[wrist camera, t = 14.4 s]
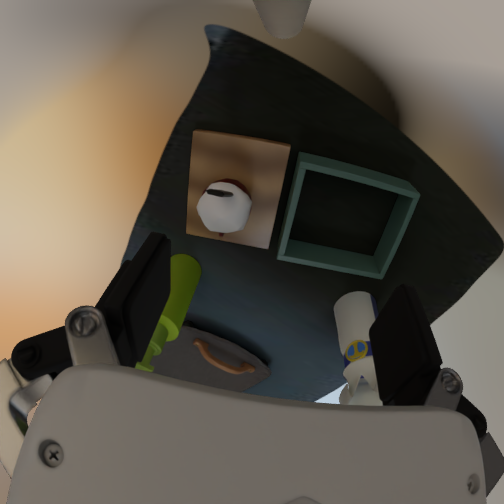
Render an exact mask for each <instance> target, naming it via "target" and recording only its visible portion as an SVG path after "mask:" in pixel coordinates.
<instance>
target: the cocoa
mask: <svg viewBox="0 0 504 504" xmlns="http://www.w3.org/2000/svg"><path fill="white" fill-rule="evenodd" d="M251 204H252V201H251V196H250V194H249V192H248V190H247V188H246V187H245V185H243V184H242V183H240V182H239V181H238V180H234V179H229V178H225V179H221V180H217V181H214V182H213V183H212V184H211V185H209V186H208V187H207V188H206V189H205V190H204V191H203V194H202V196H201V198H200V199H199V202H198V204H197V207H196V208H197V211H198V214H199V216H200V217H201V219H202V221H203V223H204V225H205V226H206V227H207V228H208V229H209V230H210V231H215V232H219V236H221V237H223V235H224V233H230V232H235V231H240V230H243V229H244V227H245V225H246V223H247V221H248V218H249V215H250V213H251V209H252V206H251Z"/></svg>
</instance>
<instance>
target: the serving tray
mask: <svg viewBox="0 0 504 504" xmlns="http://www.w3.org/2000/svg"><path fill="white" fill-rule="evenodd" d="M149 365H151V366H153V367H154V370H153V371H152V373H156V374H160V375H163V376H167V377H171V378H175V379H179V380H184V381H188V382H192V383H197V384H201V385H206V386H210V387H215V388H220V389H225V390H230V391H236V392H242V391H244V390H246V389H248V388H250V387H252V386H254V385H255V384H257V383H259V382H261V381H262V380H264V379H266V378H267V377H269V376H270V375H271V373H272V372H271V370H270V369H269V367H268V366H267V362H266V361H265V360H260V359H259V358H257V357H256V356H255V355H253V354H251V353H250V352H248V351H246V350H245V349H243V348H242V347H240V346H239V345H237V344H235V343H233V342H230V341H228V340H226V339H223V338H220V337H218V336H216V335H213V334H211V333H208V332H205V331H202V330H198V329H197V328H193V323H192V322H191V321H186V322H184V323H183V325H182V326H181V329H180V332H179V334H178V337H177V338H176V339H175V340H172V341H166V342H165V344H164V347H163V350H162V352H161V354H159V355H156V356H155V355H153V357H152V359H151V362H150V364H149Z"/></svg>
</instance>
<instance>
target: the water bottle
mask: <svg viewBox="0 0 504 504" xmlns="http://www.w3.org/2000/svg"><path fill="white" fill-rule="evenodd" d="M334 315H335V319H336V324H337V330H338V337H339V344H340V350H341V354H342V356H343V358H344V364H345V370H344V372H343V377H344V378H345V380H346V381H347V382H348V384H346V386H345V387H344V389H343V390H342V392H341V394H340V397H339V402H340V404H344V405H367V406H383V404H382V401H381V400H380V398H379V392H378V385H377V379H376V373H375V367H374V361H373V355H372V350H371V344H370V339H369V329H370V327H371V326H372V324H373V323H374V321H375V320H376V318H377V317H378V310H377V305H376V300H375V298H374V297H373V296H372V295H371V294H369V293H367V292H363V291H356V292H351V293H348V294H345V295H344V296H342V297H341V298H340V299H339V300H338V301H337V302H336V304H335V306H334ZM348 386H349V389H348Z"/></svg>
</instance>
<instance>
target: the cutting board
mask: <svg viewBox="0 0 504 504" xmlns="http://www.w3.org/2000/svg"><path fill="white" fill-rule="evenodd" d="M290 148H291V145H290V144H287V143H282V142H277V141H272V140H266V139H261V138H255V137H249V136H243V135H237V134H230V133H223V132H216V131H208V130H200V129H196V130H195V131H193V139H192V150H191V162H190V175H189V189H188V206H187V227H186V234H191V235H196V236H201V237H207V238H212V239H217V240H222V241H228V242H233V243H238V244H243V245H249V246H254V247H259V248H264V249H268V248H269V244H270V239H271V235H272V230H273V226H274V221H275V217H276V212H277V208H278V203H279V199H280V194H281V190H282V185H283V181H284V176H285V171H286V167H287V162H288V157H289V153H290ZM225 178H229V179H234V180H238V181H239V182H240V183H242V184H243V185H245V187H246V188H247V190H248V192H249V194H250V196H251V201H252V204H251V206H252V209H251V213H250V215H249V218H248V221H247V223H246V225H245V227H244V229H243V230H240V231H235V232H230V233H224V235H223V237H221V236H219V232H215V231H210V230H209V229H208V228H207V227H206V226H205V225H204V223H203V221H202V219H201V217H200V216H199V214H198V211H197V208H196V207H197V204H198V202H199V199H200V198H201V196H202V194H203V191H204V190H205V189H206V188H207V187H208V186H209V185H211V184H212V183H213V182H214V181H217V180H221V179H225Z"/></svg>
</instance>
